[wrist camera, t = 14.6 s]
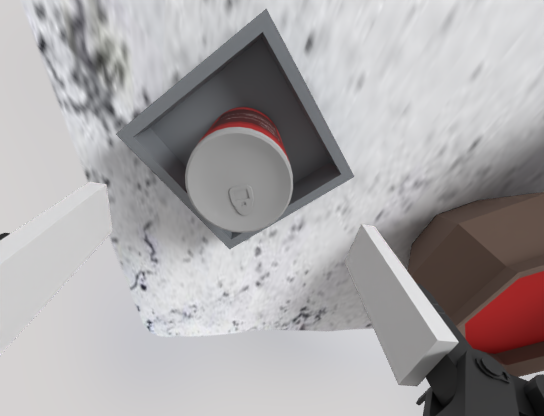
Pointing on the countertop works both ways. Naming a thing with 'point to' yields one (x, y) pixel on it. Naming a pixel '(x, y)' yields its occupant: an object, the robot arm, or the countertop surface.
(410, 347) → the robot arm
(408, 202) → the countertop surface
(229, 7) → the countertop surface
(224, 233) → the bin
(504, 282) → the brown cooking pot
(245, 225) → the canned food
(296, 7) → the countertop surface
